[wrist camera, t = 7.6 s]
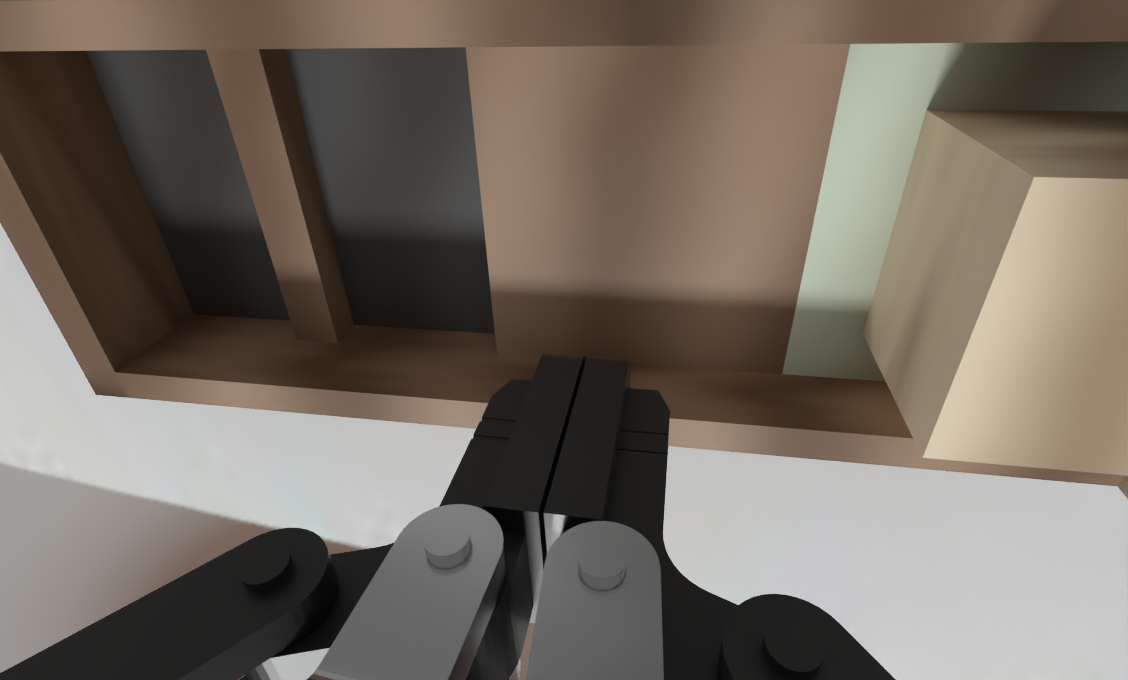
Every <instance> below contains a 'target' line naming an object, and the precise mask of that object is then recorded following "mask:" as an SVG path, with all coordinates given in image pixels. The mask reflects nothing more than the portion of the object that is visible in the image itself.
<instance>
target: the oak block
mask: <svg viewBox="0 0 1128 680" xmlns="http://www.w3.org/2000/svg"><path fill="white" fill-rule="evenodd" d="M863 336H864V338H865V340H866V342H867V344H868V346H869V348H870V350H871V352H872V354H873V356H874V358H875V360H876V363H877V365H878V367H879V369H880V371H881V373H882V375H883V377H884V379H885V381H886V383H887V385H888V387H889V389H890V391H891V394H892V396H893V398H894V400H895V402H896V404H897V406H898V408H899V410H900V412H901V414H902V416H903V418H904V420H905V422H906V425H907V427H908V429H909V431H910V433H911V435H912V437H913V439H914V441H915V443H916V445H917V447H918V449H919V451H920V453H921V456H922V458H931V459H943V460H954V461H965V462H977V463H988V464H1000V465H1011V466H1022V467H1034V468H1045V469H1057V470H1068V471H1079V472H1091V473H1102V474H1114V475H1125V476H1128V111H1015V110H926V113H925V116H924V120H923V123H922V127H921V130H920V134H919V137H918V141H917V145H916V148H915V152H914V155H913V159H912V162H911V166H910V169H909V173H908V176H907V180H906V183H905V187H904V190H903V194H902V197H901V201H900V205H899V208H898V212H897V215H896V219H895V222H894V226H893V229H892V233H891V236H890V240H889V243H888V247H887V250H886V254H885V257H884V261H883V264H882V268H881V272H880V275H879V279H878V282H877V286H876V289H875V293H874V296H873V300H872V303H871V307H870V310H869V314H868V317H867V321H866V324H865V328H864V332H863Z"/></svg>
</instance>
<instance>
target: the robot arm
mask: <svg viewBox="0 0 1128 680" xmlns="http://www.w3.org/2000/svg"><path fill="white" fill-rule="evenodd" d="M630 377H631V362H630V359H626V358H611V357H597V356H588V357H587V359H586V356H580V355H566V354H551V353H544V354H543V355H542V357H541V359H540V361H539V364H538V366H537V369H536V372H535V374H534V377H533V379H532V381H530V380H517V379H511V380H510V381H509V382H508V383H507V384H505V385H504V386H503V387H502V388H501V389H500V390H498V391H497V392H496V393H495V394H494V395H493V396H492V397H491V399H490V401H489V403H488V405H487V407H486V409H485V411H484V414H483V416H482V421H480V422H479V424H478V426H477V428H476V430H475V433H474V437H473V439H471V441H470V443H469V445H468V447H467V449H466V452H465V454H464V456H463V458H462V460H461V462H460V464H459V466H458V469H457V471H456V473H455V475H454V477H453V479H452V481H451V483H450V485H449V488H448V490H447V492H446V494H445V496H444V498H443V500H442V502H441V504H440V506H439V507H437V508H434V509H432V510H429V511H427V512H425V513H423V514H421V515H420V516H418V517H417V518H415V519H414V520H413V521H411V522H410V523H409V524H408V525H407V526H406V527H405V528H404V529H403V531H402V532H401V533H400V535H399V536H398V538H397V540H396V541H395V543H392V544H389V545H386V546H381V547H376V548H370V549H364V550H357V551H351V552H344V553H339V554H332V555H329V552H328V549H327V547H326V545H325V543H324V541H323V540H322V539H321V538H320V536H318V535H317V534H315V533H314V532H311V531H309V530H306V529H301V528H284V529H277V530H273V531H269V532H267V533H264V534H261V535H259V536H256V537H254V538H252V539H250V540H249V541H246V542H245V543H243V544H241V545H239V546H237V547H235V548H233V549H232V550H230V551H228V552H226V553H224V554H222V555H220V556H218V557H217V558H215V559H213V560H211V561H209V562H207V563H205V564H204V565H202V566H200V567H198V568H196V569H194V570H192V571H190V572H189V573H187V574H185V575H183V576H181V577H179V578H178V579H176V580H174V581H172V582H170V583H168V584H166V585H165V586H162V587H161V588H159V589H157V590H155V591H153V592H151V593H149V594H148V595H146V596H144V597H142V598H140V599H138V600H136V601H134V602H133V603H131V604H129V605H127V606H125V607H123V608H121V609H119V610H118V611H116V612H114V613H112V614H110V615H108V616H106V617H105V618H103V619H101V620H99V621H97V622H95V623H93V624H91V625H90V626H88V627H86V628H84V629H82V630H80V631H78V632H77V633H75V634H73V635H71V636H69V637H67V638H65V639H63V640H62V641H60V642H58V643H56V644H54V645H52V646H50V647H48V648H47V649H45V650H43V651H41V652H39V653H37V654H35V655H34V656H32V657H30V658H28V659H26V660H24V661H22V662H21V663H19V664H17V665H15V666H13V667H11V668H9V669H7V670H6V671H4V672H2V673H0V680H237V679H239V678H241V677H242V676H243V675H246V676H244V677H243V678H241V679H240V680H518V679H519V675H520V667H521V663H520V656H521V653H522V649H523V645H524V641H525V637H526V633H527V629H528V625H529V622H531V623H535V626H534V633H533V638H532V645H531V650H530V656H529V663H528V669H527V675H526V680H895V679H894V678H893V677H892V676H891V675H890V674H889V673H888V672H887V671H886V670H885V669H884V668H883V667H882V666H881V665H880V664H879V663H878V662H877V661H876V660H875V659H874V658H873V657H872V656H871V655H870V654H869V653H868V652H867V651H866V650H865V649H864V648H863V647H862V646H861V645H860V644H859V643H858V642H857V641H856V640H855V639H854V638H853V637H852V636H851V635H850V634H849V633H848V632H847V631H846V630H845V629H844V628H843V627H842V626H841V625H840V624H839V623H838V622H837V621H836V620H835V619H834V618H833V617H832V616H830V615H829V614H828V613H826V612H825V611H823V610H822V609H821V608H819V607H817V606H815V605H813V604H811V603H809V602H807V601H805V600H802V599H799V598H796V597H792V596H788V595H780V594H766V595H760V596H756V597H753V598H750V599H748V600H746V601H744V602H743V603H741V604H740V605H736V604H734V603H732V602H730V601H727V600H725V599H723V598H721V597H718V596H716V595H714V594H712V593H709V592H707V591H705V590H703V589H701V588H700V587H698V586H696V585H695V584H693V583H692V582H691V581H689V580H688V579H687V578H686V577H685V576H683V575H682V574H681V573H680V572H679V570H678V569H677V568H676V567H675V566H674V564H673V563H672V561H671V560H670V558H669V556H668V554H667V552H666V549H665V546H664V541H663V521H664V504H665V488H666V471H667V455H668V438H669V422H670V410H669V408H668V406H667V404H666V403H665V401H664V399H663V397H662V396H661V394H660V392H659V390H647V389H634V388H630Z"/></svg>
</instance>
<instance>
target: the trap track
mask: <svg viewBox="0 0 1128 680" xmlns="http://www.w3.org/2000/svg"><path fill="white" fill-rule="evenodd" d="M926 110H1015V111H1128V0H0V223H1V225H2V226H3V228H4V230H5V232H6V234H7V235H8V237H9V239H10V241H11V243H12V244H13V246H14V248H15V250H16V252H17V253H18V255H19V257H20V259H21V261H22V262H23V264H24V266H25V268H26V270H27V271H28V273H29V275H30V277H31V279H32V280H33V282H34V284H35V286H36V288H37V289H38V291H39V293H40V295H41V297H42V298H43V300H44V302H45V304H46V306H47V307H48V309H49V311H50V313H51V315H52V316H53V318H54V320H55V322H56V324H57V325H58V327H59V329H60V331H61V333H62V334H63V336H64V338H65V340H66V342H67V343H68V345H69V347H70V349H71V351H72V352H73V354H74V356H75V358H76V360H77V361H78V363H79V365H80V367H81V369H82V370H83V372H84V374H85V376H86V378H87V379H88V381H89V383H90V385H91V387H92V388H93V390H94V392H95V394H96V395H106V396H117V397H129V398H140V399H151V400H162V401H173V402H184V403H195V404H207V405H218V406H229V407H240V408H251V409H262V410H273V411H285V412H296V413H307V414H318V415H329V416H340V417H351V418H363V419H374V420H385V421H396V422H407V423H418V424H429V425H441V426H452V427H463V428H474V429H476V428H477V426H478V424H479V422H480V421H482V416H483V414H484V411H485V409H486V407H487V405H488V403H489V401H490V399H491V397H492V396H493V395H494V394H495V393H496V392H497V391H498V390H500V389H501V388H502V387H503V386H504V385H505V384H507V383H508V382H509V381H510V380H511V379H517V380H530V381H532V379H533V377H534V374H535V372H536V369H537V366H538V364H539V361H540V359H541V357H542V355H543V354H544V353H551V354H566V355H580V356H586V359H587V357H588V356H597V357H611V358H626V359H630V362H631V377H630V388H634V389H647V390H659V392H660V394H661V396H662V397H663V399H664V401H665V403H666V404H667V406H668V408H669V410H670V422H669V438H668V446H675V447H686V448H697V449H708V450H719V451H730V452H741V453H753V454H764V455H775V456H786V457H797V458H808V459H819V460H831V461H842V462H853V463H864V464H875V465H886V466H897V467H909V468H920V469H931V470H942V471H953V472H964V473H975V474H987V475H998V476H1009V477H1020V478H1031V479H1042V480H1053V481H1065V482H1076V483H1087V484H1098V485H1109V486H1118V487H1119V489H1120V490H1121V491H1122V492H1123V493H1124V495H1125V496H1126V497H1127V498H1128V476H1125V475H1114V474H1102V473H1091V472H1079V471H1068V470H1057V469H1045V468H1034V467H1022V466H1011V465H1000V464H988V463H977V462H965V461H954V460H943V459H931V458H922V456H921V453H920V451H919V449H918V447H917V445H916V443H915V441H914V439H913V437H912V435H911V433H910V431H909V429H908V427H907V425H906V422H905V420H904V418H903V416H902V414H901V412H900V410H899V408H898V406H897V404H896V402H895V400H894V398H893V396H892V394H891V391H890V389H889V387H888V385H887V383H886V381H885V379H884V377H883V375H882V373H881V371H880V369H879V367H878V365H877V363H876V360H875V358H874V356H873V354H872V352H871V350H870V348H869V346H868V344H867V342H866V340H865V338H864V336H863V332H864V328H865V324H866V321H867V317H868V314H869V310H870V307H871V303H872V300H873V296H874V293H875V289H876V286H877V282H878V279H879V275H880V272H881V268H882V264H883V261H884V257H885V254H886V250H887V247H888V243H889V240H890V236H891V233H892V229H893V226H894V222H895V219H896V215H897V212H898V208H899V205H900V201H901V197H902V194H903V190H904V187H905V183H906V180H907V176H908V173H909V169H910V166H911V162H912V159H913V155H914V152H915V148H916V145H917V141H918V137H919V134H920V130H921V127H922V123H923V120H924V116H925V113H926Z"/></svg>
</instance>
